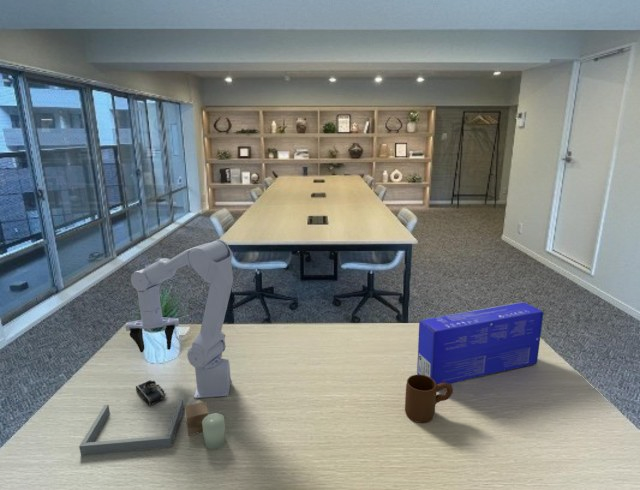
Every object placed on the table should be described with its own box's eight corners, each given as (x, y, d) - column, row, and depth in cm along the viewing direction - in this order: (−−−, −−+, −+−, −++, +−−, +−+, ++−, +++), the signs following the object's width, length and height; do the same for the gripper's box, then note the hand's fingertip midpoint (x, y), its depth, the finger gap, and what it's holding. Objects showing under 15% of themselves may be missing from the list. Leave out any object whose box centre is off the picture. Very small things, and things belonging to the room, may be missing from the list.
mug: (446, 404, 108) (448, 373, 106) (455, 423, 101) (458, 391, 98) (401, 404, 108) (403, 374, 106) (408, 424, 101) (410, 392, 98)
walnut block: (207, 417, 104) (205, 400, 103) (209, 430, 99) (207, 413, 98) (186, 422, 102) (184, 405, 101) (188, 435, 98) (186, 418, 96)
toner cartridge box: (517, 352, 134) (524, 301, 129) (537, 365, 126) (545, 311, 121) (415, 373, 123) (418, 318, 118) (430, 389, 115) (434, 331, 110)
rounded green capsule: (226, 433, 98) (225, 412, 97) (224, 448, 93) (222, 426, 92) (206, 435, 98) (203, 414, 96) (202, 450, 93) (200, 428, 91)
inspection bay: (184, 406, 108) (183, 398, 107) (171, 447, 94) (170, 438, 93) (105, 413, 106) (104, 405, 105) (80, 455, 92) (79, 446, 91)
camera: (153, 383, 118) (152, 371, 117) (167, 400, 111) (166, 387, 110) (135, 390, 115) (134, 377, 114) (149, 408, 108) (147, 394, 107)
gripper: (178, 300, 122) (183, 340, 125) (127, 304, 119) (133, 345, 123) (174, 309, 115) (179, 352, 119) (120, 314, 113) (127, 357, 116)
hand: (156, 349), depth 120 cm, fingers open, 7 cm apart
